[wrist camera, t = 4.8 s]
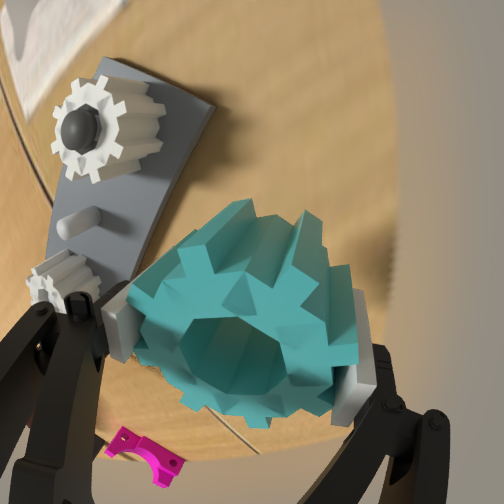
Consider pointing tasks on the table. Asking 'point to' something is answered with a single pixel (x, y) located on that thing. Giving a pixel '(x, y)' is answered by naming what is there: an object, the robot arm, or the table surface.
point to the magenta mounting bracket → (147, 455)
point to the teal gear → (249, 316)
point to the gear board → (113, 177)
